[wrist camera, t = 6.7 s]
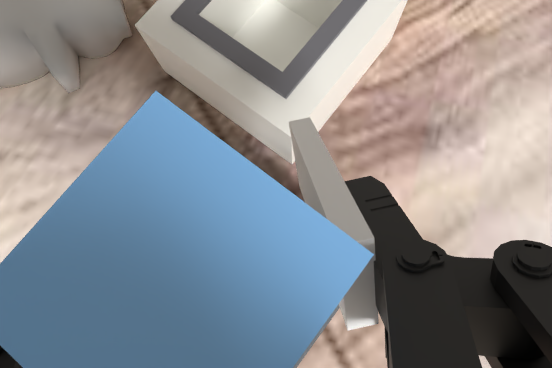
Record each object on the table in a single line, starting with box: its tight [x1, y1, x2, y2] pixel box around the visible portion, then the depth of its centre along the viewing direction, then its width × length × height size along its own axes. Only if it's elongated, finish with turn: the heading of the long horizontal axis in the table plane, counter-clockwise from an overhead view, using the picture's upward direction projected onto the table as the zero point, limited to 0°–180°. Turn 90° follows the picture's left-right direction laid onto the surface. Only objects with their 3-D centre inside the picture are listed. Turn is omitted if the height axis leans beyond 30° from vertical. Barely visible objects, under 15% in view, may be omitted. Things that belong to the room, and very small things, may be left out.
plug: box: [0, 91, 374, 368], centre depth 11 cm, size 4×4×12 cm
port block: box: [135, 0, 407, 164], centre depth 24 cm, size 11×11×5 cm
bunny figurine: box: [0, 0, 132, 93], centre depth 25 cm, size 10×5×15 cm
